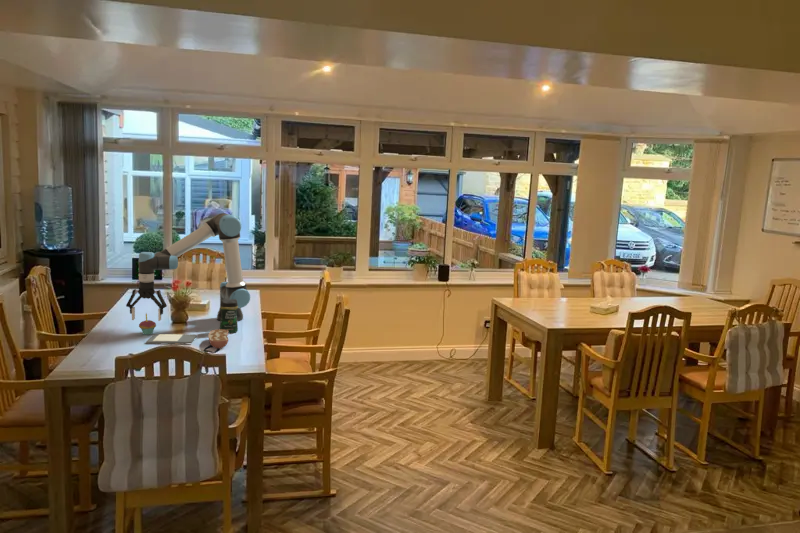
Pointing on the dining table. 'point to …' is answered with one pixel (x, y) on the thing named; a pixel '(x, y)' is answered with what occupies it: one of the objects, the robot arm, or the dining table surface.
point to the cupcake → (147, 326)
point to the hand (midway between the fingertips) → (146, 320)
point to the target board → (170, 338)
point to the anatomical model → (218, 338)
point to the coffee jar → (229, 315)
